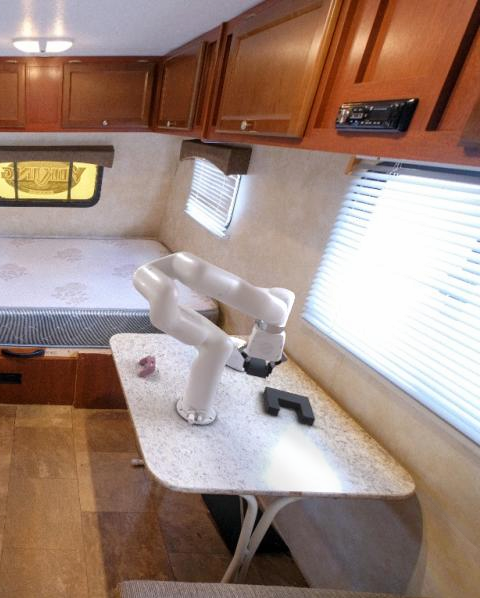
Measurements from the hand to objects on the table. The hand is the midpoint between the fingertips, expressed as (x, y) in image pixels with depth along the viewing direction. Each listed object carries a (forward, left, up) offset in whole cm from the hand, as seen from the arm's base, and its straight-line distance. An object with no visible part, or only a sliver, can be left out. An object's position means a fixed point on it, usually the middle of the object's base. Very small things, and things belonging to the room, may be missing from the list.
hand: (255, 371), depth 122 cm
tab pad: (+3, 0, -1) cm, 3 cm away
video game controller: (+4, +36, -14) cm, 39 cm away
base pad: (+4, -14, -13) cm, 19 cm away
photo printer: (+24, +4, -14) cm, 28 cm away
